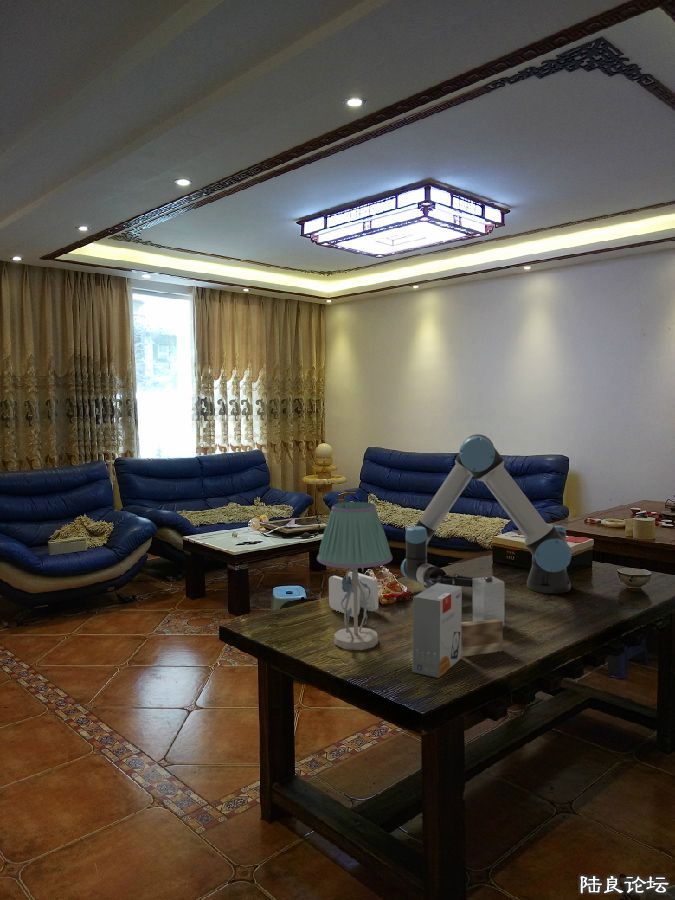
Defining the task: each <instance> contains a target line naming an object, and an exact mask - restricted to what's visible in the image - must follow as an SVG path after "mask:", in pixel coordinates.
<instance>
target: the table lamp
mask: <svg viewBox="0 0 675 900" xmlns="http://www.w3.org/2000/svg"><path fill="white" fill-rule="evenodd" d="M316 561H317V562H318V563H319V564H322V565H324V566H327V567H333V568H340V569H342V568H343V569H347V570H346V574H345V576H344V577H342V578H343V579H342V584H343V585H342V590H343V592H347V594H346V595H345V597H344V599H343V600H342V602H341V605H342V603H343V601H344V600H345V599H346V598H347V597H348V598H347V601H346V605H345V608H343V605H342V608H343V609H344V613H343V615H344V616H343V623H344V626H345V628H341V629H339V630H338V631H336V632H335V633H334V634H333V643H334V645H335V646H337V647H339V648H341V649H344V650H352V651H353V650H354V651H356V650H357V651H364V650H367V649H368V650H369V649H371V648H375V646H376V645H378V643H379V638H378V637H379V636H378V632H377V631H375V630H374V629H372V628H368V627H363V626H365V625H366V624H367V621H368V620H367V619H368V614H367V611H366V609H367V604H366V601H367V600H368V599H369V596H370V592H371V591H370V588H369V587H368V586H367V584H363V583H362V582H361V581H360V583H361V584H362V585H363V586H364V587H365V588H368V589H369V596H368V597H367V599H366V598H365V594H364V592H363V590H362V587H361V585H360V583H359V579H358V573H359V571H358V569H361V571H362V572H361V573H364V568H374V567H380V566H384V565H386V564H389V563H390V562H391V561H393V554H392V553H391V549H390V545H389V543H388V539H387V536H386V533H385V530H384V528H383V525H382V523H381V520H380V518H379V514H378V511H377V506H376V504H374V503H371V502H365V501H348V502H347V501H346V502H338V503H334V504H333V505H332V506H331V511H330V513H329V517H328V521H327V524H326V526H325V527H324V531H323V535H322V539H321V542H320V545H319V550H318V554H317V556H316ZM349 572H352V580H351V577H350V576H348V573H349ZM357 585H358V587H359V589H360V591H361V593H362V596H363V598H364V602H363V601H361V605H362V606H363V608H362V609H363V618H362V620H361V623H360V626H359V625H358V623H359V622H358V620H359V617H358V616H359V615H358V603H357ZM351 592H352V593H354V617H353V627H349V622H350V616H349V615H351V613H352V609H351V608H350V609H349V610H348V611H347V606H348V602H349V599H350V596H351ZM346 613H347V615H346Z"/></svg>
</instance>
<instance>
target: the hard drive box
mask: <svg viewBox="0 0 675 900" xmlns="http://www.w3.org/2000/svg"><path fill="white" fill-rule="evenodd" d="M462 588H463V586H453V585H446V584H440V583H437V584H435V585H433V586H431V587H430V588H428V589H427V588H425V589H424V590H423V591H421V592H420V593H418V594H416V595H414V596H413V597H412V657H411V658H412V660H411V661H412V664H411V667H412V668H411V669H412V672H413V673H416V674H420V675H424V676H427V677H428V676H429V677H432V678H437V679H439V678H441V677H442V676H443V675H445V674H446V673H447V672H448V671H449V670H450V669H451V668H452V667H453V666H454V665H456V664H457V663H458V662H459V661H460V660H461V659H462V655H461V623H462V616H463V615H462V611H463V609H462V605H463V604H462V600H463V599H462V598H463V597H462V594H463V593H462V591H463V589H462Z"/></svg>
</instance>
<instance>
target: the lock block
mask: <svg viewBox="0 0 675 900" xmlns="http://www.w3.org/2000/svg"><path fill="white" fill-rule="evenodd" d="M492 619H500V620H502V621H503V626H504V627H505V581H503V580H501V579H499V578H497V577H496V576H493V575H492V576H490V575H489V576H483V577H477V578H476V577H474V578H473V587H472V622H477V621H485V620H492Z"/></svg>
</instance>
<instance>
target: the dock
mask: <svg viewBox="0 0 675 900" xmlns="http://www.w3.org/2000/svg"><path fill="white" fill-rule="evenodd" d="M503 629H504V627H503V621H502V620H500V619H492V620H485V621H477V622H473V621H472V620H471V621H464V622H463V621H461V657H463V658H464V657H469V656H470V657H471V656H476V655H477V656H478V655H483V654H492V653H497V652H498V651H499V652H503V649H504V648H503V646H504V644H503V639H504V638H503Z"/></svg>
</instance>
